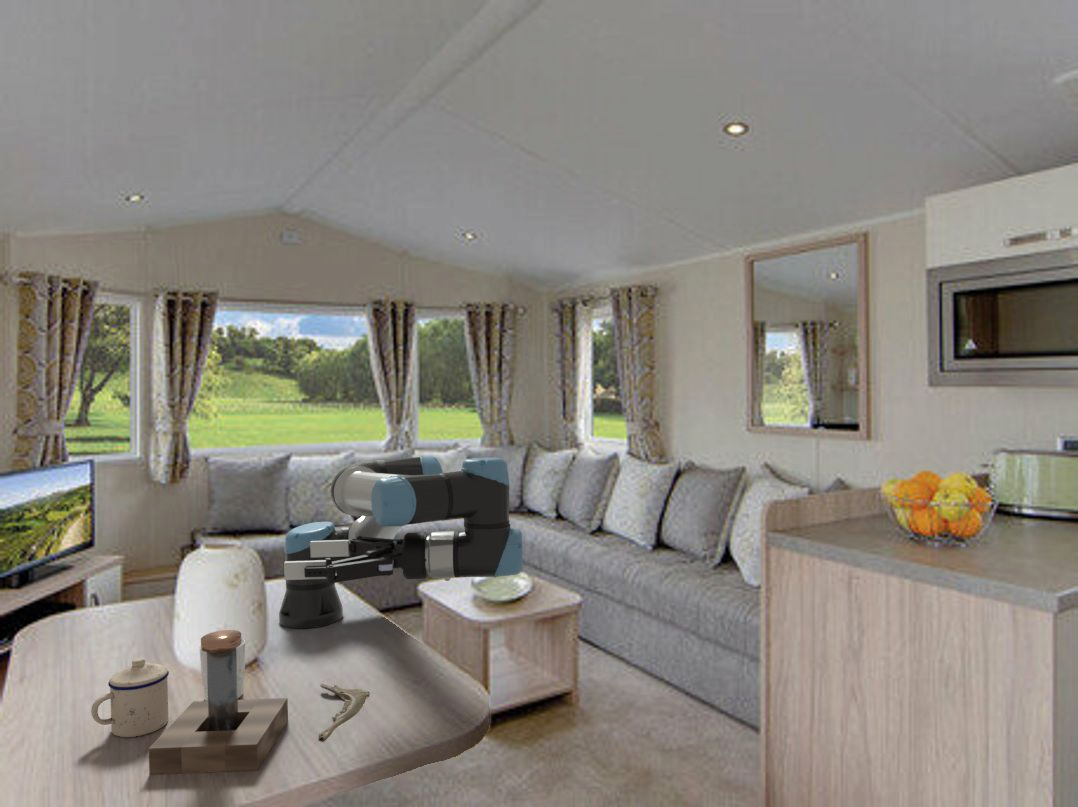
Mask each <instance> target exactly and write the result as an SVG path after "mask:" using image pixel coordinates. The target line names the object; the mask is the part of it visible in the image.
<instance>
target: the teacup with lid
mask: <svg viewBox="0 0 1078 807" xmlns="http://www.w3.org/2000/svg"><path fill="white" fill-rule="evenodd" d="M169 672H170V671H169V670H168V667H166V666H165V665H164V664H160V663H152V662H147V661H146V659H145V658H144V657H137V658H134V659H133V660H132V662H131V665H130V664H129V665H128V666H126V667H125V668H123V669H120V670H118V671H117V672H115V673H114V674H112V676H111V677H110V678H109V680H108V684H107V685H108V687H109V690H110V691H109V693H106V694H103V695H100V696H99V697H98V698H97V699H96V700H94V702H93V704H92V706H91V709H90V710H91V711H90V713H91V717H92V719H93V720H94V721H95V722H96V723H97V724H99V725H103V726H105V725H108V726H109V725H111V726H110V727H111V729H110V730H111V733H112V734H113V735H114V736H116V735H117V736H116V737H119V736H120V738H136V736H137V737H141V736H145V735H149V734H151V733H154V732H156V731H158V730H160V729H161V728H162V727H164V726H165V725H166V724H167V723H168V721H169V693H168V691H169V689H168V688H169V686H168V683H169V682H168V676H169V674H170V673H169ZM108 700H110V718H105V719H102V718H101V717H100V716H99V712H98V710H99V708H100V706H101V705H102V703H103V702H105V701H108Z"/></svg>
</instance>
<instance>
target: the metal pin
mask: <svg viewBox="0 0 1078 807" xmlns="http://www.w3.org/2000/svg"><path fill="white" fill-rule="evenodd" d="M241 638H242V632H241V631H239V630H235V629H223V630H222V629H221V630H217V631H213V632H209V633H206V634H204V635H202V636H201V638H200V646H201V650H202V651H204V652H207V683H208V720H209V731H230V730H237V728H238V700H239V698H238V694H237V656H236V648H237V647H238V646H240V645H241Z"/></svg>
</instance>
